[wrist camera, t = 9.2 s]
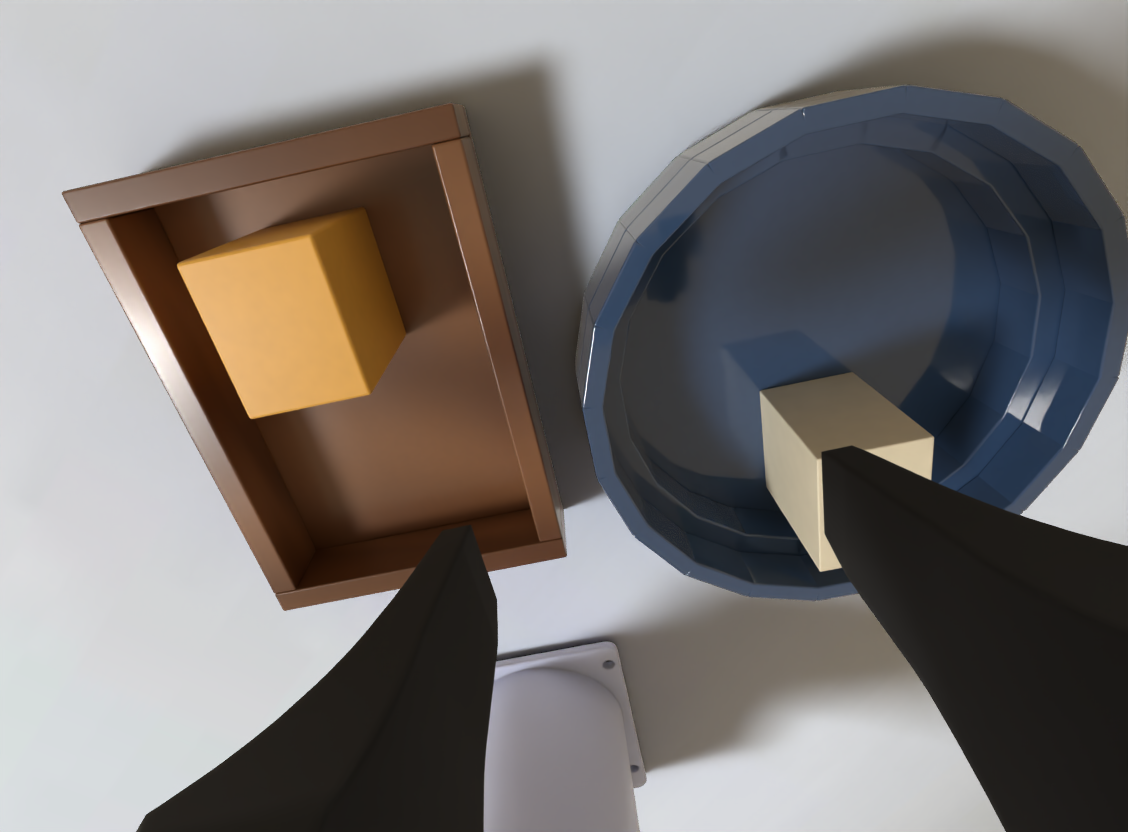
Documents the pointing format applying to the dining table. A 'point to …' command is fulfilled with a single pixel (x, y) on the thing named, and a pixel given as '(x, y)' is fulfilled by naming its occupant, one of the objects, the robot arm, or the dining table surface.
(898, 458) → the packet cream
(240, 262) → the block
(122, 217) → the holder
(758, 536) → the bowl
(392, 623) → the robot arm
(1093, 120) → the dining table surface
